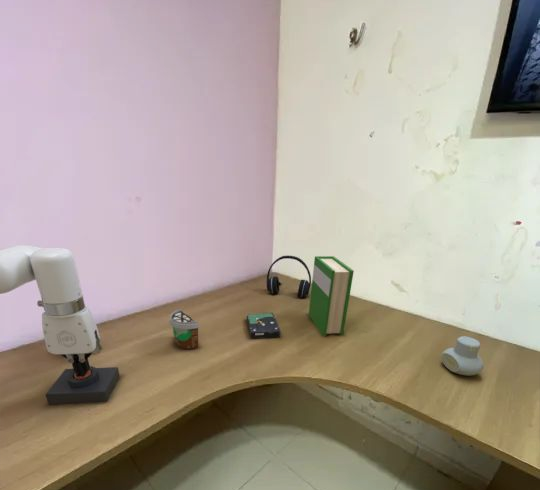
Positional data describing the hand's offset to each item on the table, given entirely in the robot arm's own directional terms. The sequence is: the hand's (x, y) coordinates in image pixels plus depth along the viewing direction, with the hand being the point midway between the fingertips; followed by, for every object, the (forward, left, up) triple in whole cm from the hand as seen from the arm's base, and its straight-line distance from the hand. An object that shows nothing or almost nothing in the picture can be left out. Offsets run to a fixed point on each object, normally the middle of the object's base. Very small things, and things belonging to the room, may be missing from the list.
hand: (83, 373), depth 76 cm
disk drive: (+48, +31, -5) cm, 57 cm away
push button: (0, 0, -2) cm, 2 cm away
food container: (+21, +21, -5) cm, 30 cm away
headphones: (+63, +63, -5) cm, 89 cm away
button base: (0, 0, -5) cm, 5 cm away
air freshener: (+105, +2, -5) cm, 105 cm away
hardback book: (+72, +33, -5) cm, 79 cm away
